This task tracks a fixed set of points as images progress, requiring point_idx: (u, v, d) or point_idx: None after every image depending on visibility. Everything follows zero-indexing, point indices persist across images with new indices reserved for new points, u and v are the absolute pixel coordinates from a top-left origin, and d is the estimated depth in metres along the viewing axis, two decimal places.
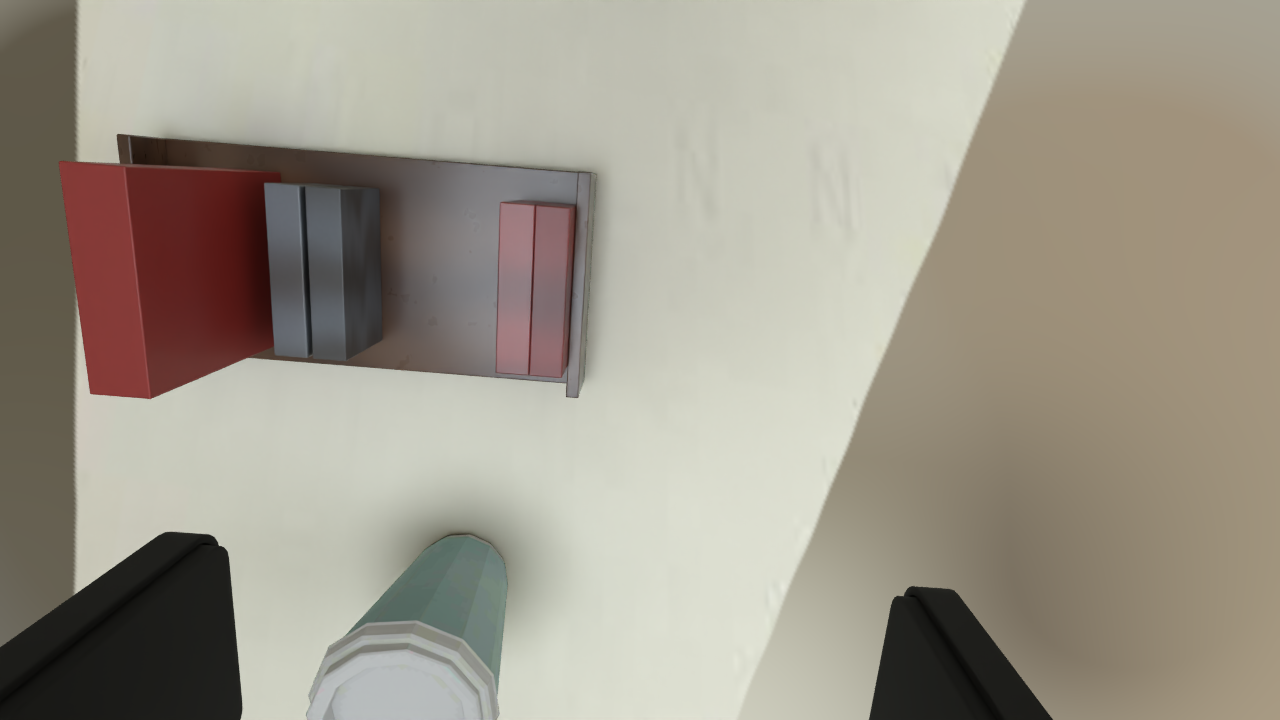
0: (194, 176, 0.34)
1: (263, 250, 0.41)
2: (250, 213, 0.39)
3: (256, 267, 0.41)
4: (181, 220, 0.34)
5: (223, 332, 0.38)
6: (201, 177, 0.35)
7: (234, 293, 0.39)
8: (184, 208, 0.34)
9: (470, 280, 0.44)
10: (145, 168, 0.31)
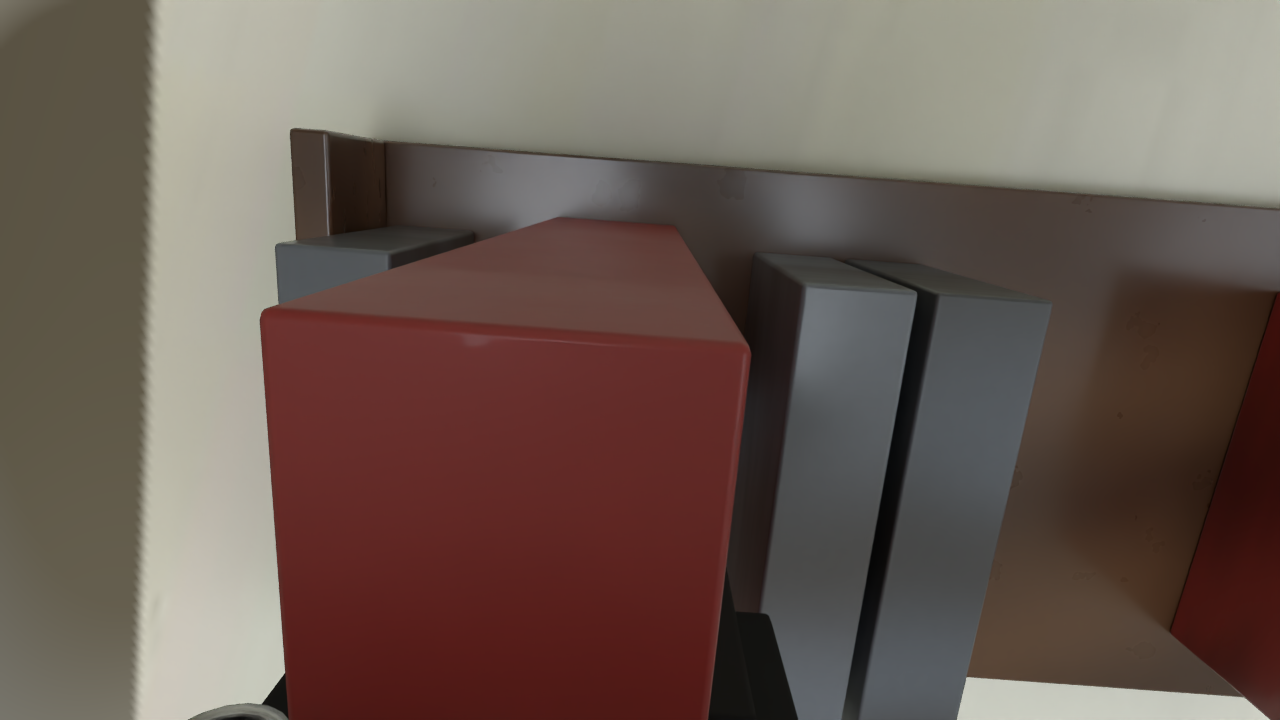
0: None
1: None
2: None
3: None
4: None
5: None
6: None
7: None
8: None
9: (1103, 480, 0.18)
10: None
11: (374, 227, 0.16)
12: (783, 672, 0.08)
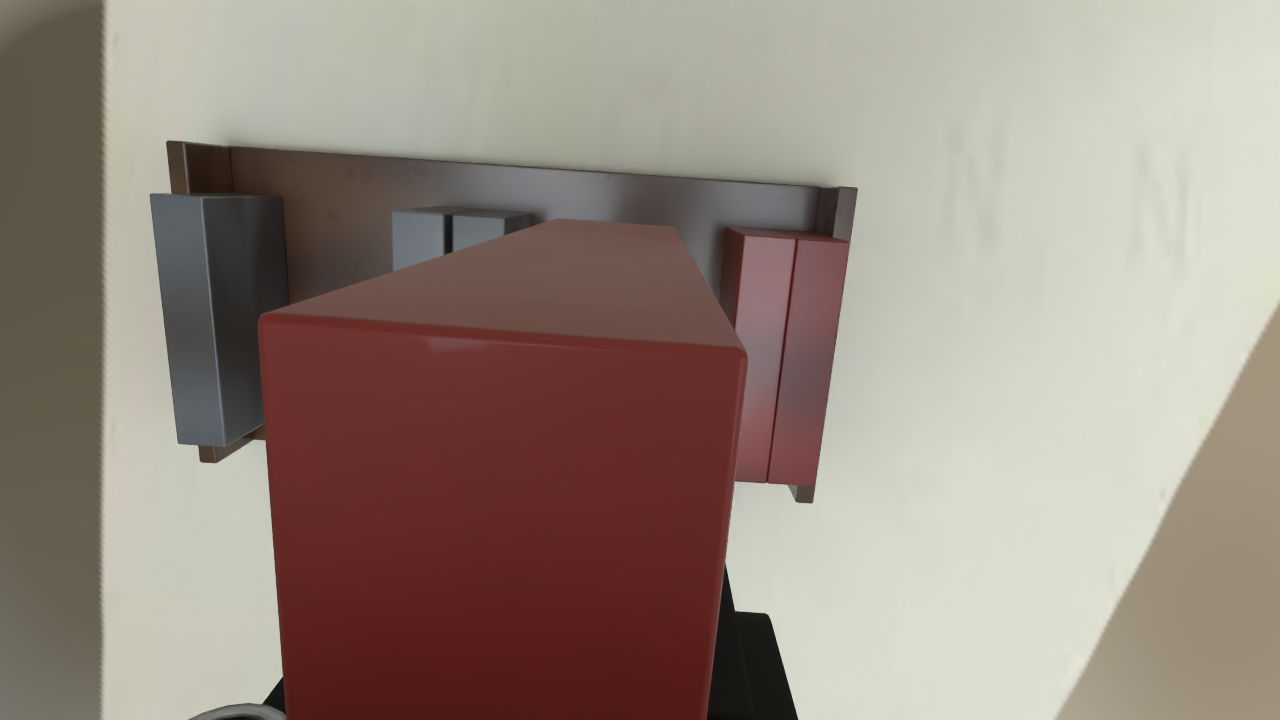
0: None
1: None
2: None
3: None
4: None
5: None
6: None
7: None
8: None
9: None
10: None
11: (222, 193, 0.29)
12: (783, 672, 0.08)
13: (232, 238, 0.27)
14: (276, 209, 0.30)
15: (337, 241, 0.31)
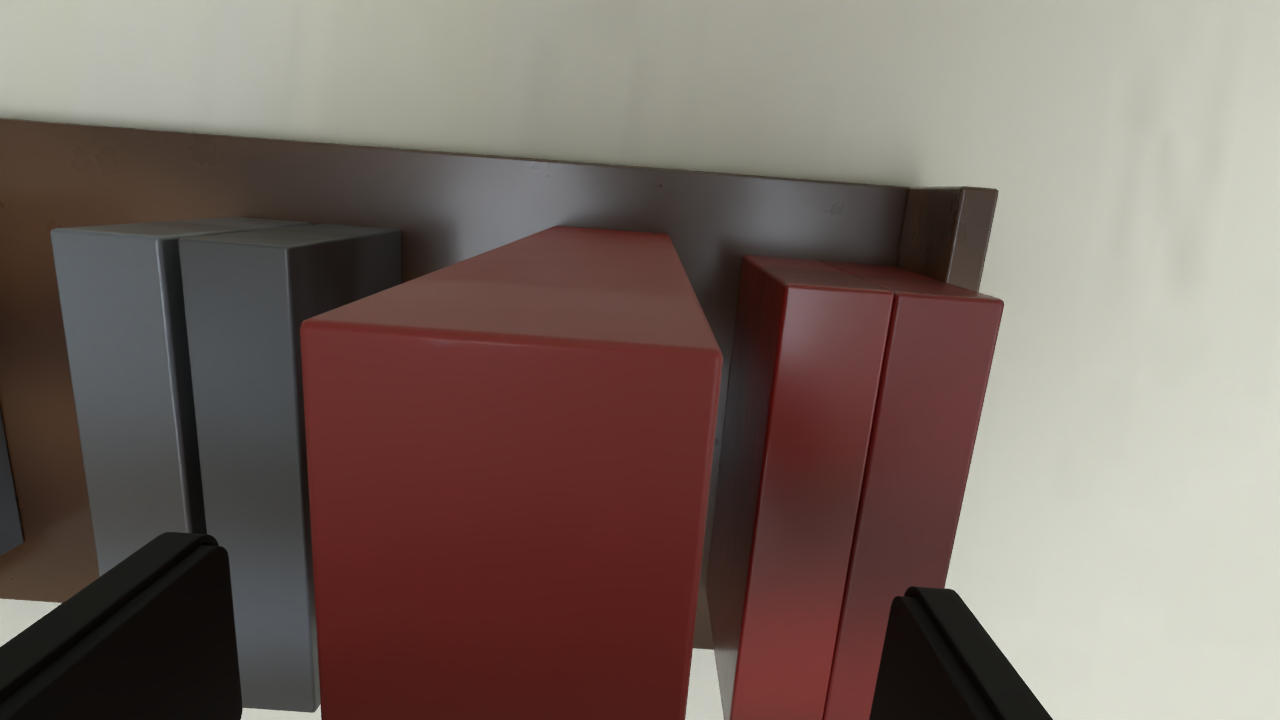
0: None
1: None
2: None
3: None
4: None
5: None
6: None
7: None
8: None
9: None
10: None
11: None
12: None
13: None
14: None
15: None
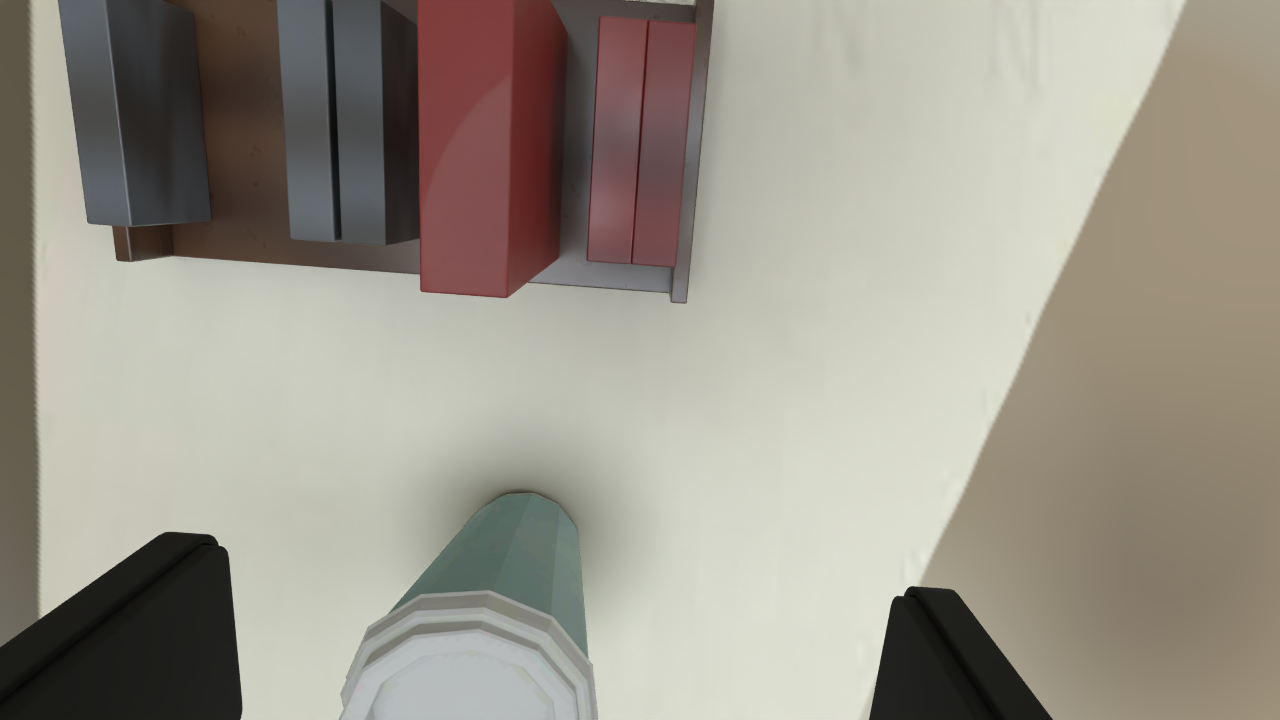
0: None
1: (557, 130, 0.31)
2: (556, 73, 0.30)
3: (554, 150, 0.31)
4: (532, 49, 0.24)
5: (538, 226, 0.28)
6: None
7: (545, 176, 0.29)
8: (534, 33, 0.24)
9: None
10: None
11: None
12: None
13: (137, 30, 0.29)
14: (187, 22, 0.32)
15: (246, 58, 0.33)
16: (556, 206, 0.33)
